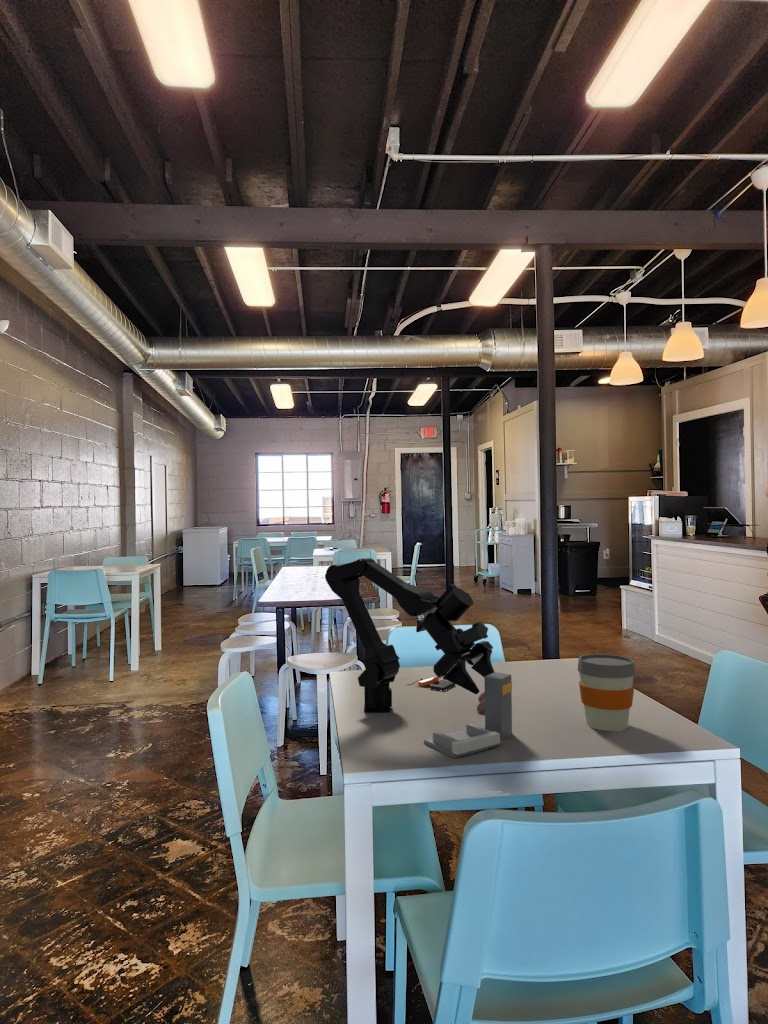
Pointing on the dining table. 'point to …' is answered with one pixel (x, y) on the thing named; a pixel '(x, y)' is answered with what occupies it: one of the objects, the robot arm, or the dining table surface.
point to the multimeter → (435, 683)
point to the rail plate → (464, 741)
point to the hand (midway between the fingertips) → (487, 688)
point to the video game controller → (481, 703)
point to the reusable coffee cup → (606, 690)
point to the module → (498, 703)
